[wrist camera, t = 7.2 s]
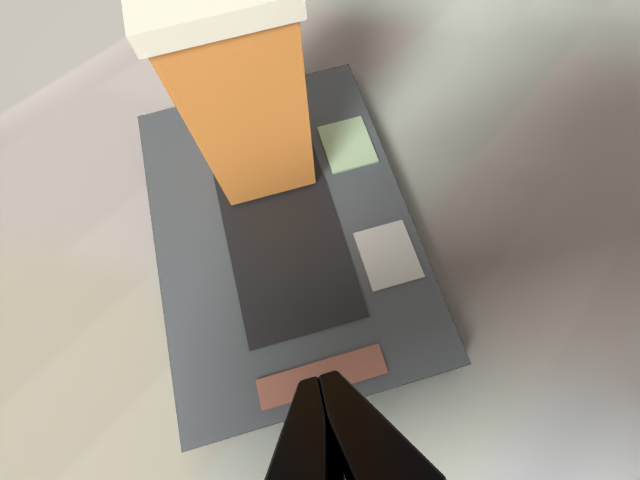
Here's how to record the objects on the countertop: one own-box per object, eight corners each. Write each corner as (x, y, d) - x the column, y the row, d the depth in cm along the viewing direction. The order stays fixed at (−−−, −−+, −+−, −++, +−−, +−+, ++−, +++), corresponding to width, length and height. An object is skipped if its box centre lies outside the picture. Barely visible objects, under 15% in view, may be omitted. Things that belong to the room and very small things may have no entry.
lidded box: (320, 185, 16) (304, -7, 8) (228, 209, 16) (125, 36, 8) (296, 112, 17) (265, -109, 10) (212, 134, 17) (111, -75, 9)
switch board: (462, 366, 14) (472, 363, 13) (192, 448, 14) (180, 453, 13) (348, 80, 19) (348, 62, 18) (147, 130, 19) (136, 114, 18)
